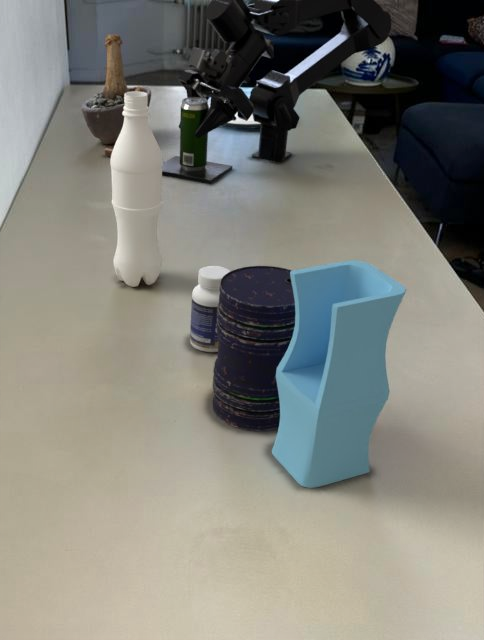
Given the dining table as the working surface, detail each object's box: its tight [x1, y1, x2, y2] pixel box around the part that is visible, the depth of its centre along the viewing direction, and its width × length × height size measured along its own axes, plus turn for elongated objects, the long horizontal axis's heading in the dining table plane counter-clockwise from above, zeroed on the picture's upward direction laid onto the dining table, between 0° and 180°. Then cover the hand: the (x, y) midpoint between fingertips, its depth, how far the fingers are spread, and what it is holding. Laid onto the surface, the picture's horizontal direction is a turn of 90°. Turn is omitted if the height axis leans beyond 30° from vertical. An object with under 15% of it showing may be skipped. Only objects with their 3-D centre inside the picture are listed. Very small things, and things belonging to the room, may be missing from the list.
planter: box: [81, 33, 152, 146], centre depth 161 cm, size 15×17×20 cm
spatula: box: [104, 145, 233, 185], centre depth 154 cm, size 26×10×2 cm, turn 61°
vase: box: [271, 259, 407, 489], centre depth 74 cm, size 8×8×20 cm
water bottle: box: [109, 91, 164, 288], centre depth 106 cm, size 7×7×25 cm
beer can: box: [179, 97, 209, 171], centre depth 148 cm, size 5×5×12 cm
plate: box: [208, 103, 261, 129], centre depth 180 cm, size 21×21×2 cm
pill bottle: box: [189, 265, 231, 353], centre depth 96 cm, size 5×5×10 cm
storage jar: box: [211, 265, 296, 432], centre depth 83 cm, size 10×10×15 cm
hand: (188, 132), depth 147 cm, fingers closed on beer can, 5 cm apart
